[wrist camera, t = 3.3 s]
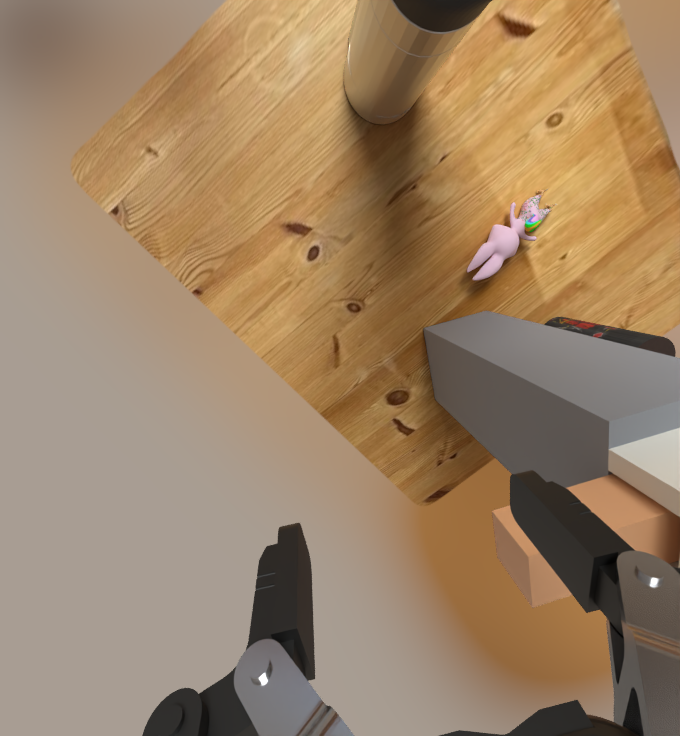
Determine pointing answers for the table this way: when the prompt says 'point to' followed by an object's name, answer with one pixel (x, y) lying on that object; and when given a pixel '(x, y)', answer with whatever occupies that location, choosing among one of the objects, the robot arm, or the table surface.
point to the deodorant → (615, 335)
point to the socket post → (561, 402)
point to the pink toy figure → (508, 237)
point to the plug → (614, 507)
